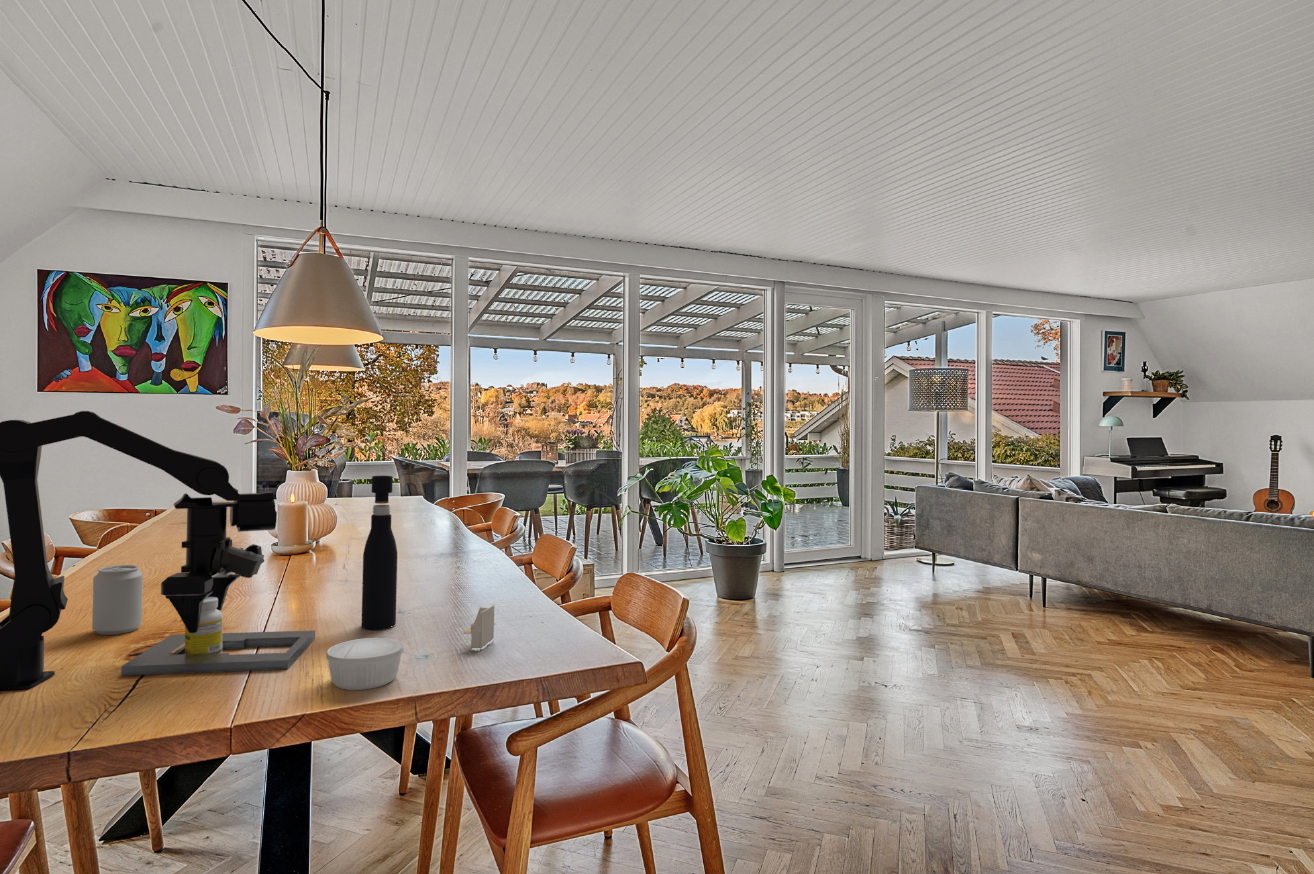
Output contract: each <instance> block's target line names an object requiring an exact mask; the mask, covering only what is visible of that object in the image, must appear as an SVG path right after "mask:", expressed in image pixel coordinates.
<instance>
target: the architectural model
mask: <svg viewBox="0 0 1314 874" xmlns="http://www.w3.org/2000/svg"><path fill="white" fill-rule="evenodd" d="M470 625H471V626H470V627H469V628H467V629H466V630H464V632H463V634H465V635H470V636H471V639H470V649H471V648H482V647H483V646H485V645H486V644H487V643H488V642H490V641H491V640H492V639H493V638H494V636H495V635H494V633H495V625H496V623H495V605H494V604H493V605H491V606H489V607H481V606H480V607H479V609H478V612H477V614H476V618H475V620H474V622H473V623H471V624H470Z"/></svg>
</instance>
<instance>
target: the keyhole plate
mask: <svg viewBox="0 0 1314 874" xmlns="http://www.w3.org/2000/svg"><path fill="white" fill-rule="evenodd" d="M315 639H316V630H314V629H313V630H291V631H290V630H289V631H288V630H287V631H284V630H283V631H282V630H281V631H253V632H252V631H251V632H249V631H248V632H222V651H223V650H244V649H245V648H255V647H256V648H257V647H260V648H261V647H262V648H263V647H287V646H290V647H289V648H288V649H287V650H286V652H273V653H272V652H271V653H270V652H269V653H268V652H267V653H265V652H264V653H244V654H243V653H241V654H237V653H235V654H230V653H229V652H222V653H211V654H185V633H184V634H182V633H181V634H170V635H169V636H167V637H166V638H164V639H162V640H161V641H159V642H158V643H156V644H155V645H152V646H151V647H150V648H148V649H146V650H145V651H143V652H142V653H140V654H138V655H137V656H136V657H134V658H132V659H130V660H129V661H128V662H126V663H125V664H123V665H121V669H120V670H121V671H120V673H121V675H120V676H122V677H123V676H148V675H151V676H152V675H153V676H154V675H175V674H176V675H177V674H179V675H180V674H199V673H201V674H202V673H203V674H204V673H225V672H226V673H227V672H248V671H249V672H252V671H254V672H255V671H276V670H277V671H279V670H280V671H281V670H289V669H290V668H291V666H292V665H293V664H294V663H295V662H296V661H297V660H298V658H300V657H301V655H302V654H303V653H304V651H306V650H307V649H308V647H309V646H310V645H311V644H312V643H313V641H314V640H315Z"/></svg>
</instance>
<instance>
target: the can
mask: <svg viewBox="0 0 1314 874" xmlns="http://www.w3.org/2000/svg"><path fill="white" fill-rule="evenodd" d="M139 568H140V566H139V565H135V564H123V565H122V564H120V565H110V566H104V567H101V568H98V569H97V572H98V573H97V574H96V575H94V577H93V579H92V616H91V617H92V621H91V623H92V624H91V625H92V626H91V627H92V628H91V629H92V630H93V631H94V632H95V633H97V634H99V635H103V636H108V635H109V636H110V635H122V634H126V633H129V632H134V631H135V630H137V628H138V627H140V626H141V625H142V622H143V585H144V582H143V581H144V579H143V578H144V576H143V575H144V574H143V573H142V572H141V571H140V570H139Z"/></svg>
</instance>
